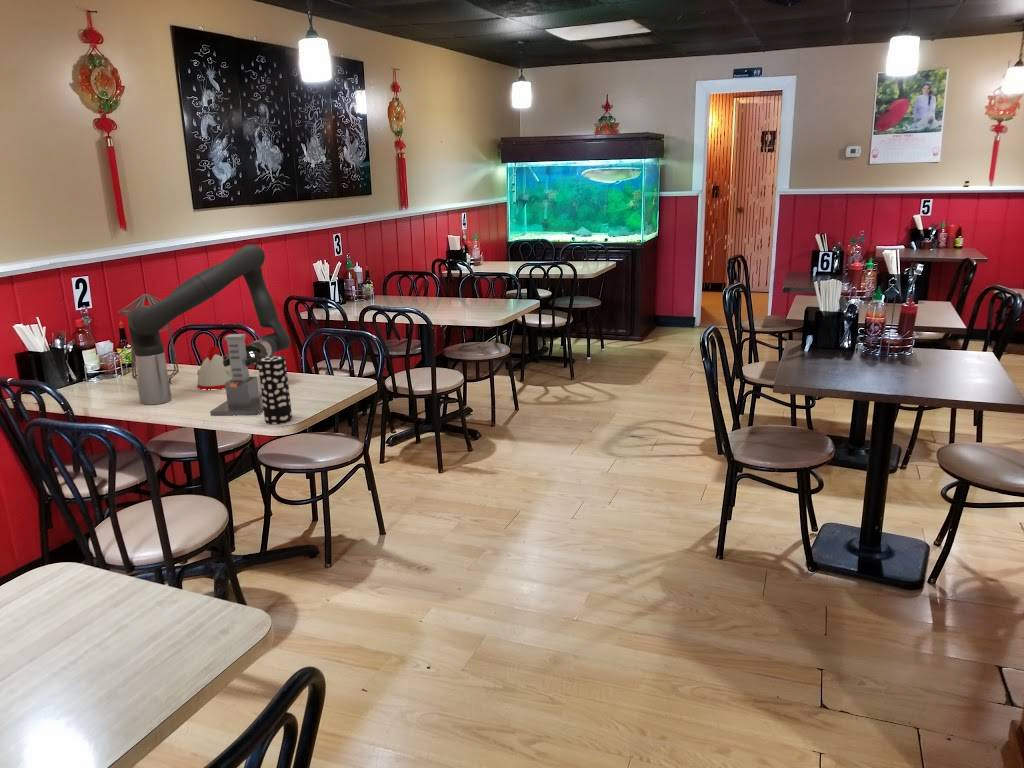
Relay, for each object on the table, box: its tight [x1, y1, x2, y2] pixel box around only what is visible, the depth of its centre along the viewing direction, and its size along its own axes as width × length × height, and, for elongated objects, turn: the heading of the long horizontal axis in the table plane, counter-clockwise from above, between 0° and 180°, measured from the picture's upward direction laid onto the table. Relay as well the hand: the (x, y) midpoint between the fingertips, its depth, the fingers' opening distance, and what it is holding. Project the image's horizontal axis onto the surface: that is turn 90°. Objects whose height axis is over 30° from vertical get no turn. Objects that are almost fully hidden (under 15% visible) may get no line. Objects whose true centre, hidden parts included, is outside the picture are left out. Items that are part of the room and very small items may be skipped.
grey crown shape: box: [196, 345, 232, 391], centre depth 284 cm, size 14×14×15 cm
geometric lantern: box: [118, 293, 180, 385], centre depth 283 cm, size 16×16×35 cm
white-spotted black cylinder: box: [257, 355, 293, 425], centre depth 238 cm, size 8×8×20 cm
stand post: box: [224, 333, 250, 382], centre depth 251 cm, size 5×5×23 cm
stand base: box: [209, 376, 264, 417], centre depth 253 cm, size 16×16×10 cm
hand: (235, 363), depth 248 cm, fingers open, 7 cm apart
